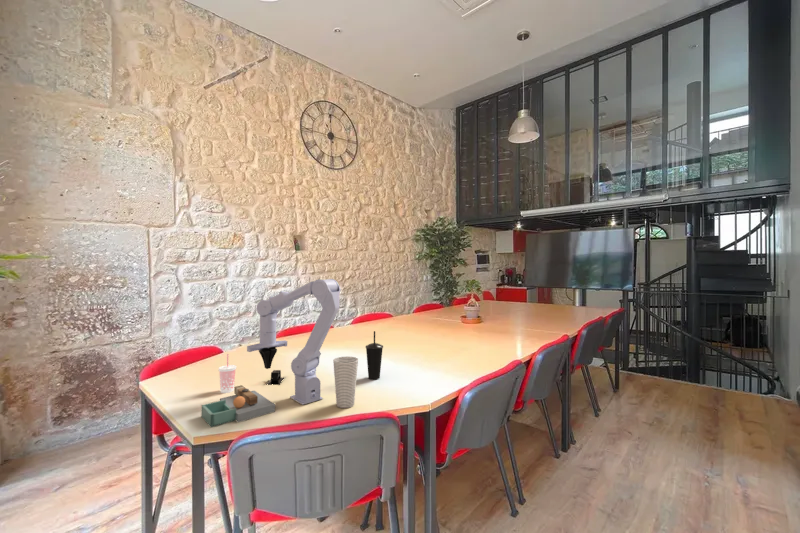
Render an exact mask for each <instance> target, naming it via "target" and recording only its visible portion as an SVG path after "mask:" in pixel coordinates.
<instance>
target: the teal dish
mask: <svg viewBox="0 0 800 533" xmlns="http://www.w3.org/2000/svg"><path fill="white" fill-rule="evenodd" d="M200 410H201V414H200V415H201V418H202V419H203V420H204V421H205V422H206V423H207V425H208V426H209V427H210V428H213V427H216V426H221V425H224V424H227V423H231V422H234V421H236V408H234V409H231V408H230V407H229V406H228V405H227V404H226V400H221V401H220V400H218V401H214V402H210V403H209V402H208V403H205V404H201V409H200Z"/></svg>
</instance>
